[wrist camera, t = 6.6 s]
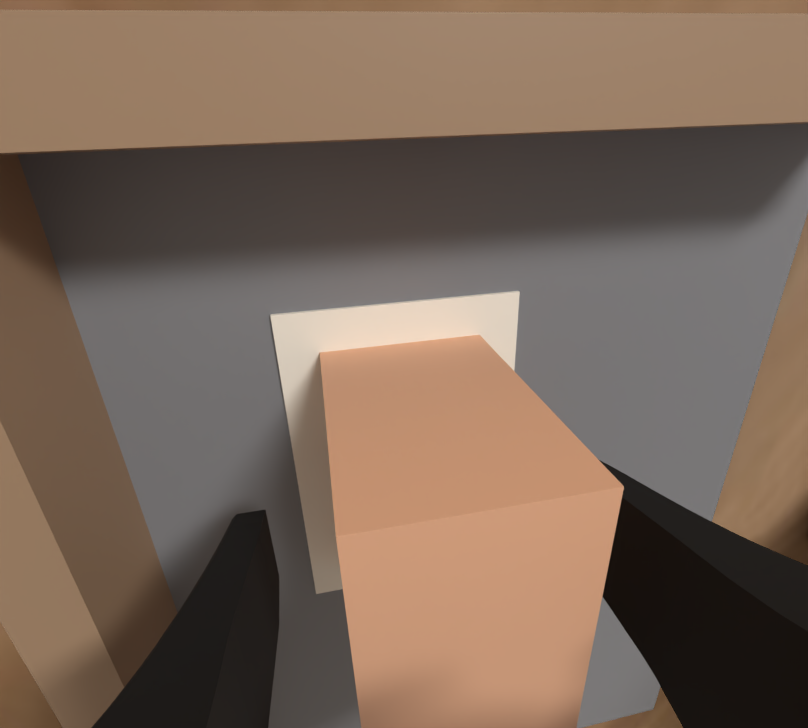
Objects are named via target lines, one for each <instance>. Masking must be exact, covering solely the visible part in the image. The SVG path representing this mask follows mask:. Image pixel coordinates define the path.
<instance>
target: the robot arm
mask: <svg viewBox="0 0 808 728" xmlns="http://www.w3.org/2000/svg"><path fill="white" fill-rule="evenodd" d="M599 461H600V460H599ZM600 462H601V463H602V464H603V465H604V466H605V467H606V468H607V469H608V470H609V471H610V472H611V473H612V474H613V475H614V477H615V478H616V479H617V480H618V481H619V482H620V483H621V484H622V485H623V486H624V490H623V495H622V500H621V505H620V510H619V515H618V520H617V525H616V530H615V535H614V540H613V545H612V551H611V556H610V561H609V566H608V571H607V576H606V581H605V586H604V591H603V596H602V597H603V598H604V600H605V601H606V602H607V604H608V605H609V607H610V608H611V610H612V611H613V613H614V614H615V616H616V617H617V619H618V620H619V622H620V623H621V625H622V626H623V628H624V629H625V631H626V632H627V634H628V635H629V636H630V638H631V639H632V641H633V642H634V644H635V645H636V647H637V648H638V650H639V651H640V653H641V654H642V656H643V658H644V659H645V661H646V662H647V664H648V666H649V667H650V669H651V670H652V672H653V674H654V675H655V677H656V679H657V681H658V682H659V684H660V686H661V688H662V690H663V691H664V693H665V695H666V697H667V699H668V700H669V702H670V704H671V706H672V708H673V709H674V711H675V713H676V715H677V717H678V718H679V720H680V722H681V724H682V726H683V728H808V566H807V565H805V564H802V563H800V562H798V561H795V560H793V559H791V558H788V557H786V556H784V555H781V554H779V553H777V552H775V551H772V550H770V549H768V548H765V547H763V546H761V545H758V544H756V543H754V542H752V541H750V540H748V539H746V538H743V537H741V536H739V535H737V534H735V533H733V532H731V531H729V530H727V529H725V528H723V527H721V526H719V525H717V524H715V523H713V522H711V521H709V520H707V519H705V518H703V517H702V516H700V515H698V514H696V513H694V512H692V511H690V510H688V509H687V508H685V507H683V506H681V505H679V504H677V503H676V502H674V501H672V500H670V499H668V498H666V497H665V496H663V495H661V494H659V493H658V492H656V491H654V490H652V489H651V488H649V487H647V486H645V485H643V484H642V483H640V482H638V481H636V480H635V479H633V478H631V477H629V476H628V475H626V474H624V473H622V472H621V471H619V470H617V469H615V468H613V467H612V466H610V465H608V464H606V463H604V462H602V461H600ZM278 632H279V573H278V568H277V563H276V558H275V553H274V548H273V544H272V539H271V534H270V529H269V524H268V519H267V515H266V510H259V511H252V512H246V513H240V514H236V515H235V516H234V518H233V519H232V520H231V522H230V524H229V526H228V528H227V530H226V532H225V534H224V536H223V538H222V540H221V542H220V543H219V545H218V547H217V549H216V551H215V552H214V554H213V556H212V558H211V559H210V561H209V563H208V565H207V566H206V568H205V570H204V572H203V573H202V575H201V576H200V578H199V580H198V581H197V583H196V585H195V586H194V588H193V590H192V591H191V593H190V594H189V596H188V598H187V599H186V601H185V602H184V604H183V606H182V607H181V609H180V610H179V612H178V613H177V615H176V616H175V618H174V619H173V620H172V622H171V623H170V625H169V626H168V628H167V629H166V631H165V632H164V634H163V635H162V637H161V638H160V640H159V641H158V643H157V644H156V645H155V647H154V648H153V650H152V651H151V652H150V654H149V655H148V657H147V658H146V659H145V661H144V662H143V663H142V665H141V666H140V667H139V669H138V670H137V671H136V673H135V674H134V675H133V677H132V678H131V679H130V681H129V682H128V683H127V684H126V686H125V687H124V688H123V690H122V691H121V692H120V693H119V695H118V696H117V697H116V699H115V700H114V701H113V702H112V704H111V705H110V706H109V707H108V708H107V710H106V711H105V712H104V713H103V714H102V716H101V717H100V718H99V719H98V720H97V722H96V723H95V724H94V725H93V726H92V728H268V724H269V715H270V706H271V697H272V688H273V679H274V670H275V661H276V651H277V642H278Z"/></svg>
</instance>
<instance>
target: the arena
mask: <svg viewBox="0 0 808 728" xmlns="http://www.w3.org/2000/svg"><path fill="white" fill-rule="evenodd" d="M807 213H808V14H780V13H571V12H361V11H151V10H0V622H1V624H2V626H3V627H4V629H5V631H6V632H7V634H8V636H9V637H10V639H11V641H12V643H13V644H14V646H15V648H16V649H17V651H18V653H19V654H20V656H21V658H22V660H23V661H24V663H25V665H26V666H27V668H28V670H29V671H30V673H31V675H32V677H33V678H34V680H35V682H36V683H37V685H38V687H39V688H40V690H41V692H42V694H43V695H44V697H45V699H46V700H47V702H48V704H49V705H50V707H51V709H52V711H53V712H54V714H55V716H56V717H57V719H58V721H59V722H60V724H61V726H62V728H92V726H93V725H94V724H95V723H96V722H97V720H98V719H99V718H100V717H101V716H102V714H103V713H104V712H105V711H106V710H107V708H108V707H109V706H110V705H111V704H112V702H113V701H114V700H115V699H116V697H117V696H118V695H119V693H120V692H121V691H122V690H123V688H124V687H125V686H126V684H127V683H128V682H129V681H130V679H131V678H132V677H133V675H134V674H135V673H136V671H137V670H138V669H139V667H140V666H141V665H142V663H143V662H144V661H145V659H146V658H147V657H148V655H149V654H150V652H151V651H152V650H153V648H154V647H155V645H156V644H157V643H158V641H159V640H160V638H161V637H162V635H163V634H164V632H165V631H166V629H167V628H168V626H169V625H170V623H171V622H172V620H173V619H174V618H175V616H176V615H177V613H178V612H179V610H180V609H181V607H182V606H183V604H184V602H185V601H186V599H187V598H188V596H189V594H190V593H191V591H192V590H193V588H194V586H195V585H196V583H197V581H198V580H199V578H200V576H201V575H202V573H203V572H204V570H205V568H206V566H207V565H208V563H209V561H210V559H211V558H212V556H213V554H214V552H215V551H216V549H217V547H218V545H219V543H220V542H221V540H222V538H223V536H224V534H225V532H226V530H227V528H228V526H229V524H230V522H231V520H232V519H233V518H234V516H235V515H236V514H240V513H246V512H252V511H259V510H266V515H267V519H268V524H269V529H270V534H271V539H272V544H273V548H274V553H275V558H276V563H277V568H278V573H279V632H278V642H277V651H276V661H275V670H274V679H273V688H272V697H271V706H270V715H269V724H268V728H361V722H360V714H359V707H358V699H357V692H356V684H355V677H354V669H353V662H352V654H351V647H350V639H349V632H348V624H347V617H346V609H345V602H344V594H343V587H342V579H341V572H340V564H339V557H338V549H337V542H336V533H335V521H334V510H333V499H332V487H331V476H330V464H329V453H328V442H327V430H326V419H325V408H324V396H323V385H322V374H321V362H320V352H329V351H338V350H347V349H356V348H365V347H374V346H383V345H391V344H400V343H409V342H418V341H427V340H436V339H445V338H454V337H463V336H472V335H480V336H481V337H482V338H483V339H484V340H485V341H486V342H487V343H488V344H489V345H490V346H491V347H492V348H493V349H494V350H495V351H496V353H497V354H498V355H499V356H500V357H501V358H502V359H503V360H504V361H505V362H506V363H507V364H508V365H509V366H510V367H511V368H512V369H513V370H514V371H515V372H516V374H517V375H518V376H519V377H520V378H521V379H522V380H523V381H524V382H525V383H526V384H527V385H528V386H529V387H530V388H531V389H532V390H533V391H534V392H535V394H536V395H537V396H538V397H539V398H540V399H541V400H542V401H543V402H544V403H545V404H546V405H547V406H548V407H549V408H550V409H551V410H552V411H553V412H554V413H555V415H556V416H557V417H558V418H559V419H560V420H561V421H562V422H563V423H564V424H565V425H566V426H567V427H568V428H569V429H570V430H571V431H572V432H573V433H574V434H575V436H576V437H577V438H578V439H579V440H580V441H581V442H582V443H583V444H584V445H585V446H586V447H587V448H588V449H589V450H590V451H591V452H592V453H593V454H594V456H595V457H596V458H597V459H598V460H600V461H602V462H604V463H606V464H608V465H610V466H612V467H613V468H615V469H617V470H619V471H621V472H622V473H624V474H626V475H628V476H629V477H631V478H633V479H635V480H636V481H638V482H640V483H642V484H643V485H645V486H647V487H649V488H651V489H652V490H654V491H656V492H658V493H659V494H661V495H663V496H665V497H666V498H668V499H670V500H672V501H674V502H676V503H677V504H679V505H681V506H683V507H685V508H687V509H688V510H690V511H692V512H694V513H696V514H698V515H700V516H702V517H703V518H705V519H707V520H709V521H711V522H712V519H713V516H714V513H715V509H716V506H717V503H718V500H719V496H720V493H721V490H722V487H723V484H724V480H725V477H726V474H727V471H728V467H729V464H730V461H731V458H732V455H733V451H734V448H735V445H736V442H737V438H738V435H739V432H740V429H741V426H742V422H743V419H744V416H745V413H746V410H747V406H748V403H749V400H750V397H751V393H752V390H753V387H754V384H755V381H756V377H757V374H758V371H759V368H760V364H761V361H762V358H763V355H764V352H765V348H766V345H767V342H768V339H769V336H770V332H771V329H772V326H773V323H774V319H775V316H776V313H777V310H778V307H779V303H780V300H781V297H782V294H783V290H784V287H785V284H786V281H787V278H788V274H789V271H790V268H791V265H792V261H793V258H794V255H795V252H796V249H797V245H798V242H799V239H800V236H801V233H802V229H803V226H804V223H805V220H806V216H807ZM659 690H660V684H659V682H658V681H657V679H656V677H655V675H654V674H653V672H652V670H651V669H650V667H649V666H648V664H647V662H646V661H645V659H644V658H643V656H642V654H641V653H640V651H639V650H638V648H637V647H636V645H635V644H634V642H633V641H632V639H631V638H630V636H629V635H628V634H627V632H626V631H625V629H624V628H623V626H622V625H621V623H620V622H619V620H618V619H617V617H616V616H615V614H614V613H613V611H612V610H611V608H610V607H609V605H608V604H607V602H606V601H605V600H604V598H603V597H602V601H601V606H600V611H599V616H598V621H597V626H596V631H595V636H594V642H593V647H592V652H591V657H590V662H589V667H588V672H587V677H586V682H585V687H584V692H583V697H582V702H581V707H580V712H579V717H578V722H577V727H576V728H583V727H586V726H590V725H594V724H598V723H602V722H606V721H610V720H614V719H617V718H621V717H625V716H629V715H633V714H637V713H641V712H645V711H648V710H652V709H654V706H655V702H656V699H657V696H658V693H659Z"/></svg>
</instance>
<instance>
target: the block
mask: <svg viewBox="0 0 808 728" xmlns="http://www.w3.org/2000/svg"><path fill="white" fill-rule="evenodd" d="M320 362H321V374H322V385H323V396H324V408H325V419H326V430H327V442H328V453H329V464H330V476H331V487H332V499H333V510H334V521H335V533H336V542H337V549H338V557H339V564H340V572H341V579H342V587H343V594H344V602H345V609H346V617H347V624H348V632H349V639H350V647H351V654H352V662H353V669H354V677H355V684H356V692H357V699H358V707H359V714H360V722H361V728H576V727H577V722H578V717H579V712H580V707H581V702H582V697H583V692H584V687H585V682H586V677H587V672H588V667H589V662H590V657H591V652H592V647H593V642H594V636H595V631H596V626H597V621H598V616H599V611H600V606H601V601H602V596H603V591H604V586H605V581H606V576H607V571H608V566H609V561H610V556H611V551H612V545H613V540H614V535H615V530H616V525H617V520H618V515H619V510H620V505H621V500H622V495H623V490H624V486H623V485H622V484H621V483H620V482H619V481H618V480H617V479H616V478H615V477H614V475H613V474H612V473H611V472H610V471H609V470H608V469H607V468H606V467H605V466H604V465H603V464H602V463H601V462H600V461H599V460H598V459H597V458H596V457H595V456H594V454H593V453H592V452H591V451H590V450H589V449H588V448H587V447H586V446H585V445H584V444H583V443H582V442H581V441H580V440H579V439H578V438H577V437H576V436H575V434H574V433H573V432H572V431H571V430H570V429H569V428H568V427H567V426H566V425H565V424H564V423H563V422H562V421H561V420H560V419H559V418H558V417H557V416H556V415H555V413H554V412H553V411H552V410H551V409H550V408H549V407H548V406H547V405H546V404H545V403H544V402H543V401H542V400H541V399H540V398H539V397H538V396H537V395H536V394H535V392H534V391H533V390H532V389H531V388H530V387H529V386H528V385H527V384H526V383H525V382H524V381H523V380H522V379H521V378H520V377H519V376H518V375H517V374H516V372H515V371H514V370H513V369H512V368H511V367H510V366H509V365H508V364H507V363H506V362H505V361H504V360H503V359H502V358H501V357H500V356H499V355H498V354H497V353H496V351H495V350H494V349H493V348H492V347H491V346H490V345H489V344H488V343H487V342H486V341H485V340H484V339H483V338H482V337H481V336H480V335H472V336H463V337H454V338H445V339H436V340H427V341H418V342H409V343H400V344H391V345H383V346H374V347H365V348H356V349H347V350H338V351H329V352H320Z"/></svg>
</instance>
